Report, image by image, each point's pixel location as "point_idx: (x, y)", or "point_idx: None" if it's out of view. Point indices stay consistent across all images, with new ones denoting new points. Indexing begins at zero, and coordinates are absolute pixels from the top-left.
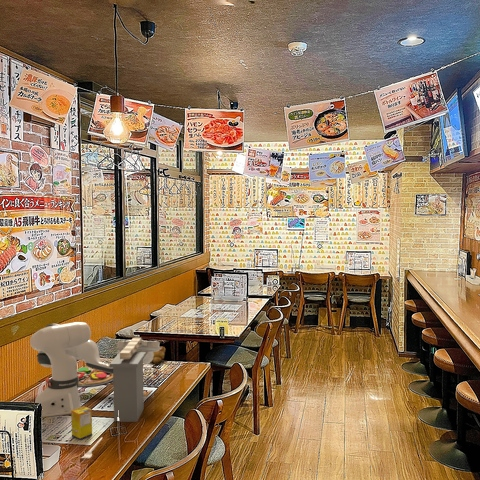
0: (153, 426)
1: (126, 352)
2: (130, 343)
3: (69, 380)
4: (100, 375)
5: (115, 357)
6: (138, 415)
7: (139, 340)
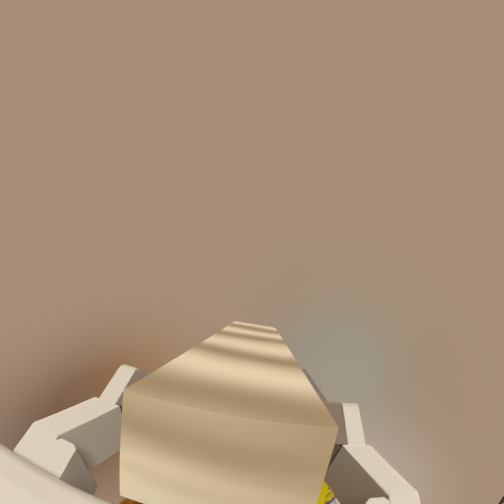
0: (131, 500)
1: (247, 323)
2: (268, 347)
3: (502, 501)
4: None
5: (320, 393)
6: None
7: (183, 356)
